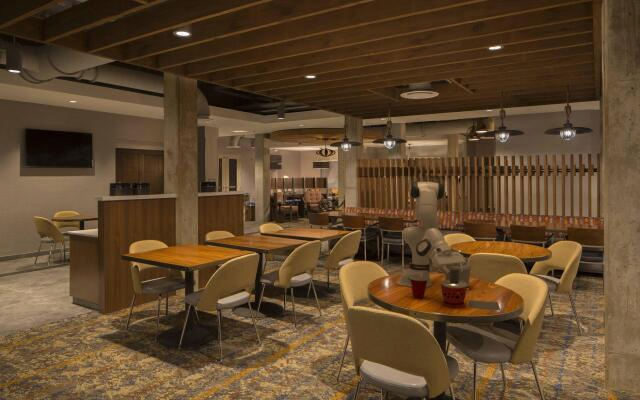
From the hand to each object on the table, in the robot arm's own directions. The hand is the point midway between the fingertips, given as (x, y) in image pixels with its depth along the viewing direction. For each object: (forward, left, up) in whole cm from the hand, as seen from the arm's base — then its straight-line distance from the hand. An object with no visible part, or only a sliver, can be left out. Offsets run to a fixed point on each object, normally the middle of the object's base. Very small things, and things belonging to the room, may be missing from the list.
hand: (455, 272), depth 251 cm
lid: (-1, 0, -7) cm, 7 cm away
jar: (+3, +44, -19) cm, 48 cm away
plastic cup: (-20, +12, -19) cm, 31 cm away
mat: (+16, +5, -19) cm, 25 cm away
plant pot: (-1, +1, -19) cm, 19 cm away
